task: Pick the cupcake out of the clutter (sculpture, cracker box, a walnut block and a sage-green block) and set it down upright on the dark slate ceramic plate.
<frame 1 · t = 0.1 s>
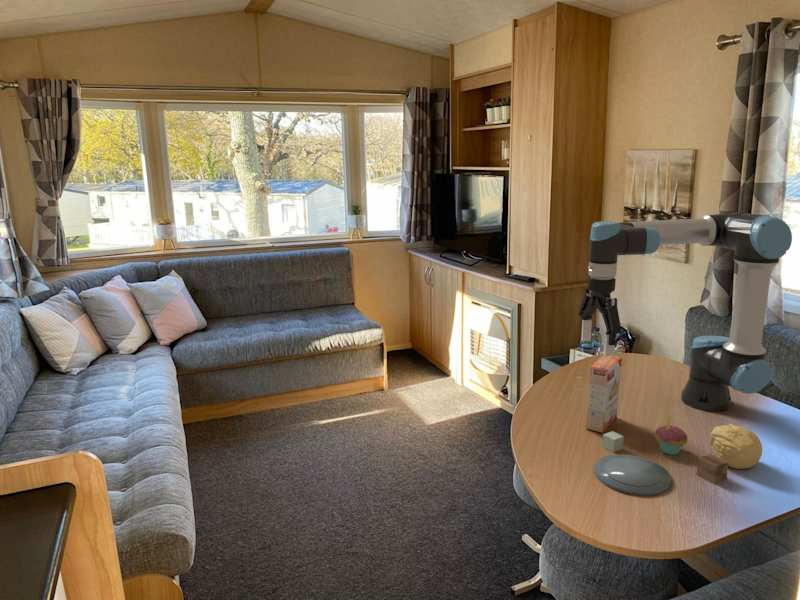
hand: (597, 347, 174), 28 cm above the table, fingers open, 13 cm apart
cracker box: (602, 424, 189), on the table
plate: (631, 475, 159), on the table
sage block: (612, 447, 174), on the table
walnut block: (711, 477, 157), on the table
cupcake: (669, 451, 171), on the table
sculpture: (734, 463, 164), on the table
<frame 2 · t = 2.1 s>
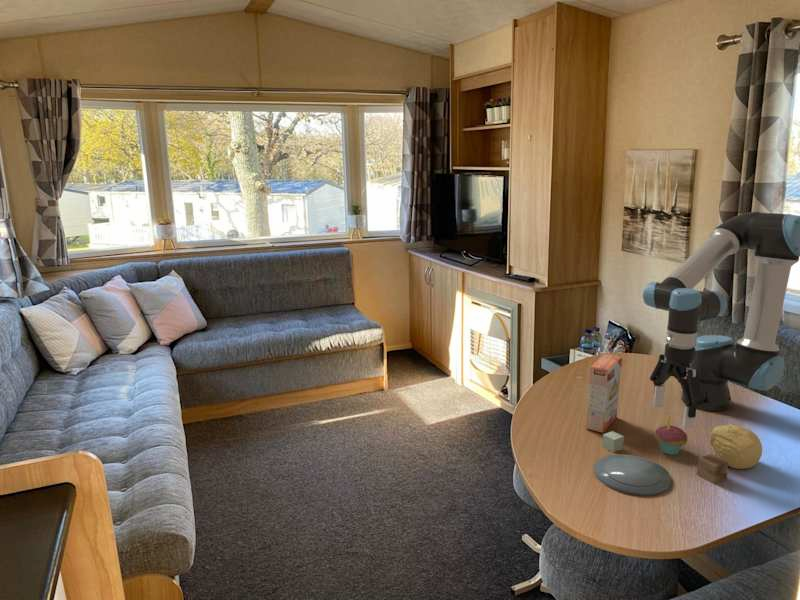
hand: (672, 416, 169), 11 cm above the table, fingers open, 13 cm apart
nothing on the table moved.
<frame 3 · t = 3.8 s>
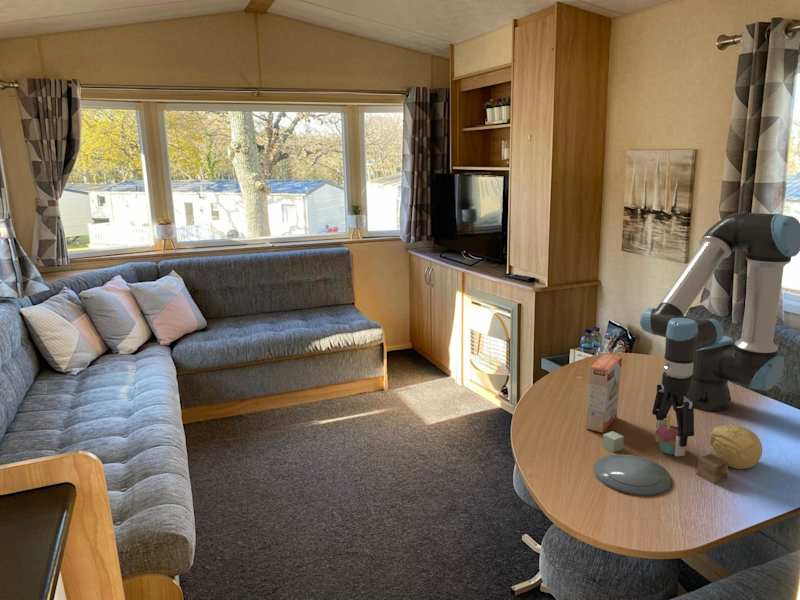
hand: (669, 447, 171), 1 cm above the table, fingers closed on cupcake, 8 cm apart
cupcake: (669, 450, 171), on the table, touching gripper
everything else where it was.
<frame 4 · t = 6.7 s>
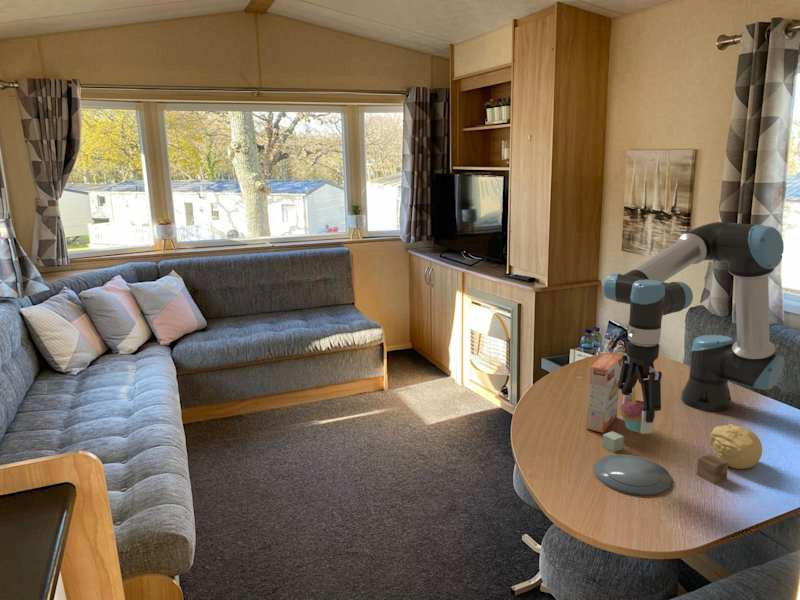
hand: (636, 424, 155), 15 cm above the table, fingers closed on cupcake, 8 cm apart
cupcake: (635, 428, 155), point 14 cm above the table, touching gripper
everything else where it was.
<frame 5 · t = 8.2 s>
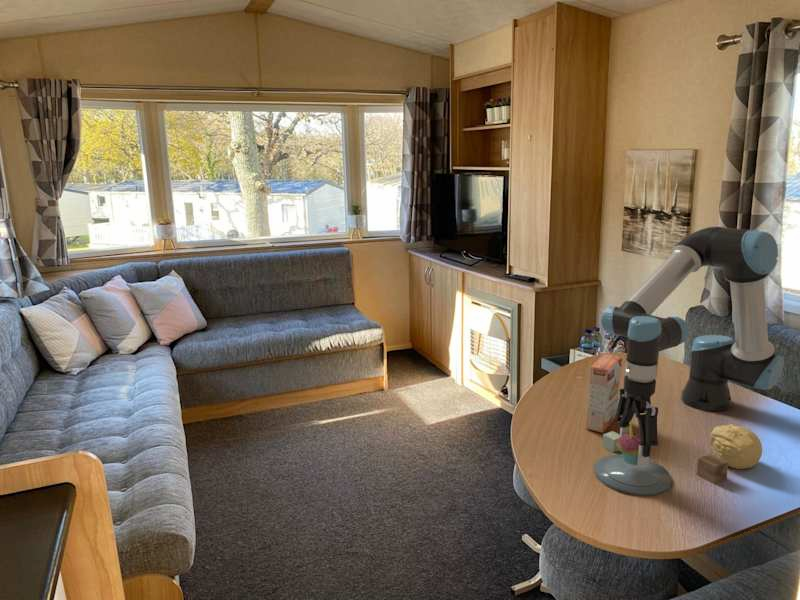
hand: (633, 457, 157), 5 cm above the table, fingers closed on cupcake, 8 cm apart
cupcake: (632, 461, 158), point 4 cm above the table, touching gripper
everything else where it was.
when the fingers open (4 cm above the table, at t = 9.4 s): cupcake drops 2 cm, resting on plate.
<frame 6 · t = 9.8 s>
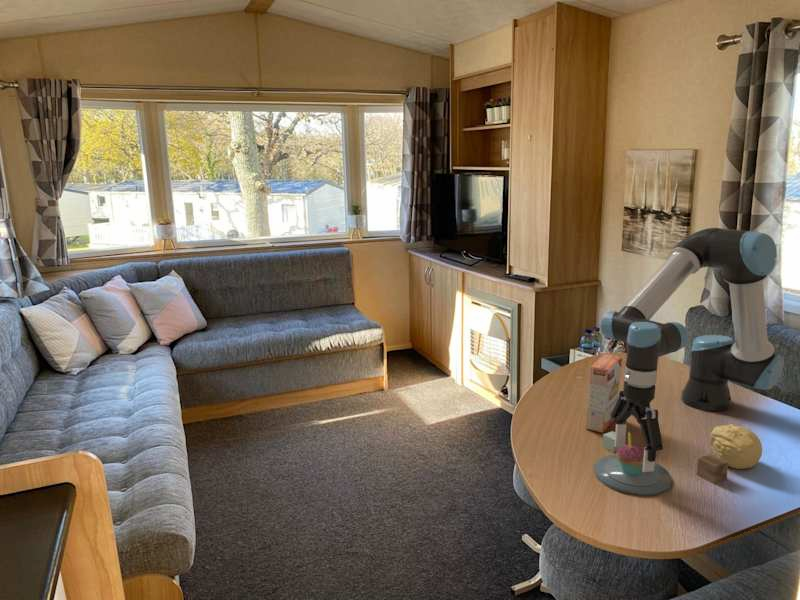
hand: (633, 458, 157), 5 cm above the table, fingers open, 13 cm apart
cupcake: (631, 471, 159), point 1 cm above the table, touching plate
everything else where it was.
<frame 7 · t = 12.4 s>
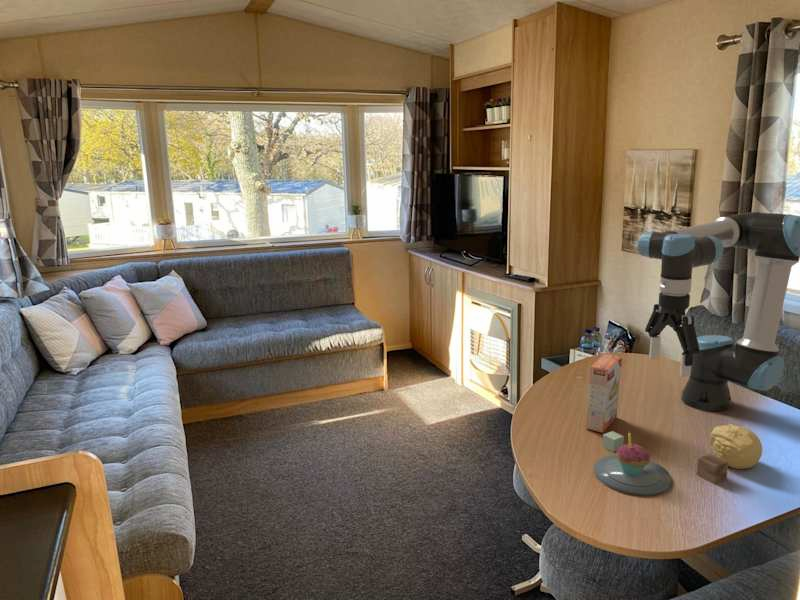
hand: (668, 367, 165), 26 cm above the table, fingers open, 13 cm apart
nothing on the table moved.
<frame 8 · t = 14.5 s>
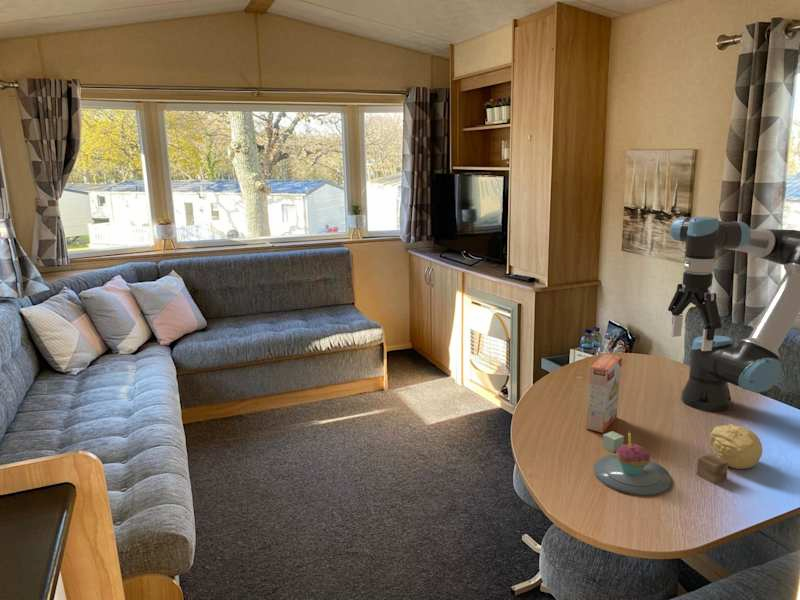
hand: (690, 343, 175), 29 cm above the table, fingers open, 13 cm apart
nothing on the table moved.
at the end: cupcake 0.3 cm from the plate (horizontally); cupcake point 1.1 cm above the table; cupcake tilted 0° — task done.
